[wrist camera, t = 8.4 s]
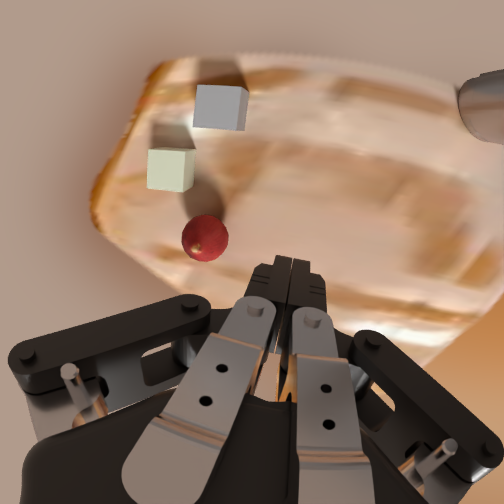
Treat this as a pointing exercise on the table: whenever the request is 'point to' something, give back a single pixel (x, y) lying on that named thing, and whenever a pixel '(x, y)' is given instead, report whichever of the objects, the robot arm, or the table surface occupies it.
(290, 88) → the table surface
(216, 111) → the slate block
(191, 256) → the onion
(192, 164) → the sage block
